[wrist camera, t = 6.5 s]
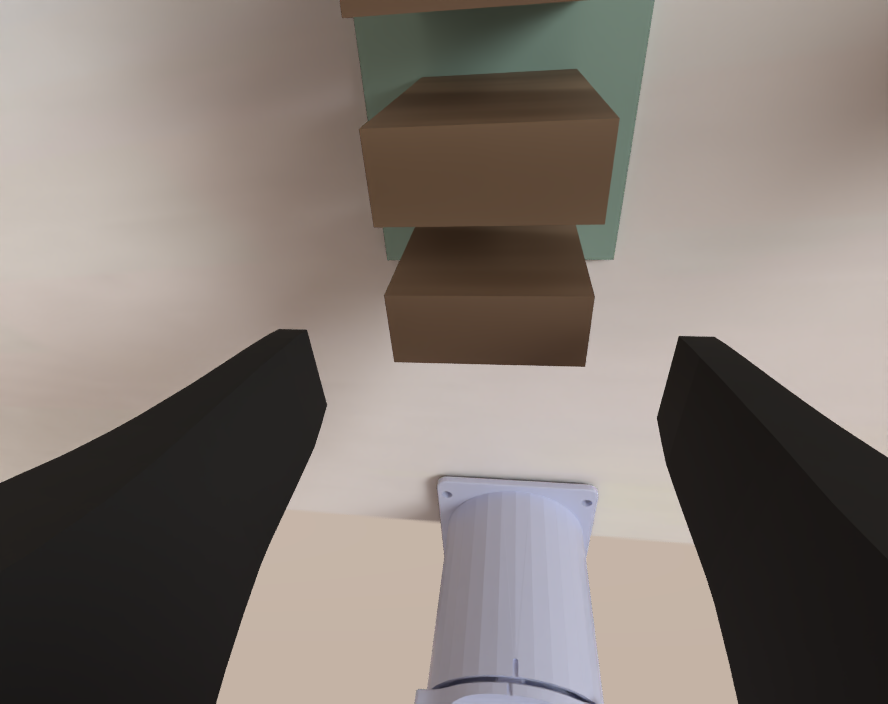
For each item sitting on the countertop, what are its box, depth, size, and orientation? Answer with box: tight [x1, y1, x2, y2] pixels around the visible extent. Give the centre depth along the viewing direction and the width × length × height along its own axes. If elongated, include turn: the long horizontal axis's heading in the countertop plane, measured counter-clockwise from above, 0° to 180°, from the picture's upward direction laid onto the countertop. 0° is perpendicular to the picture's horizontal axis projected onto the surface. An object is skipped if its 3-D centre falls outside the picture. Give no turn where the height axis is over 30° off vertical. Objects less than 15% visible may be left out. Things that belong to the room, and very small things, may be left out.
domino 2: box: [384, 225, 595, 367], centre depth 13 cm, size 2×4×7 cm, turn 93°
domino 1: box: [359, 69, 620, 227], centre depth 11 cm, size 2×4×7 cm, turn 94°
